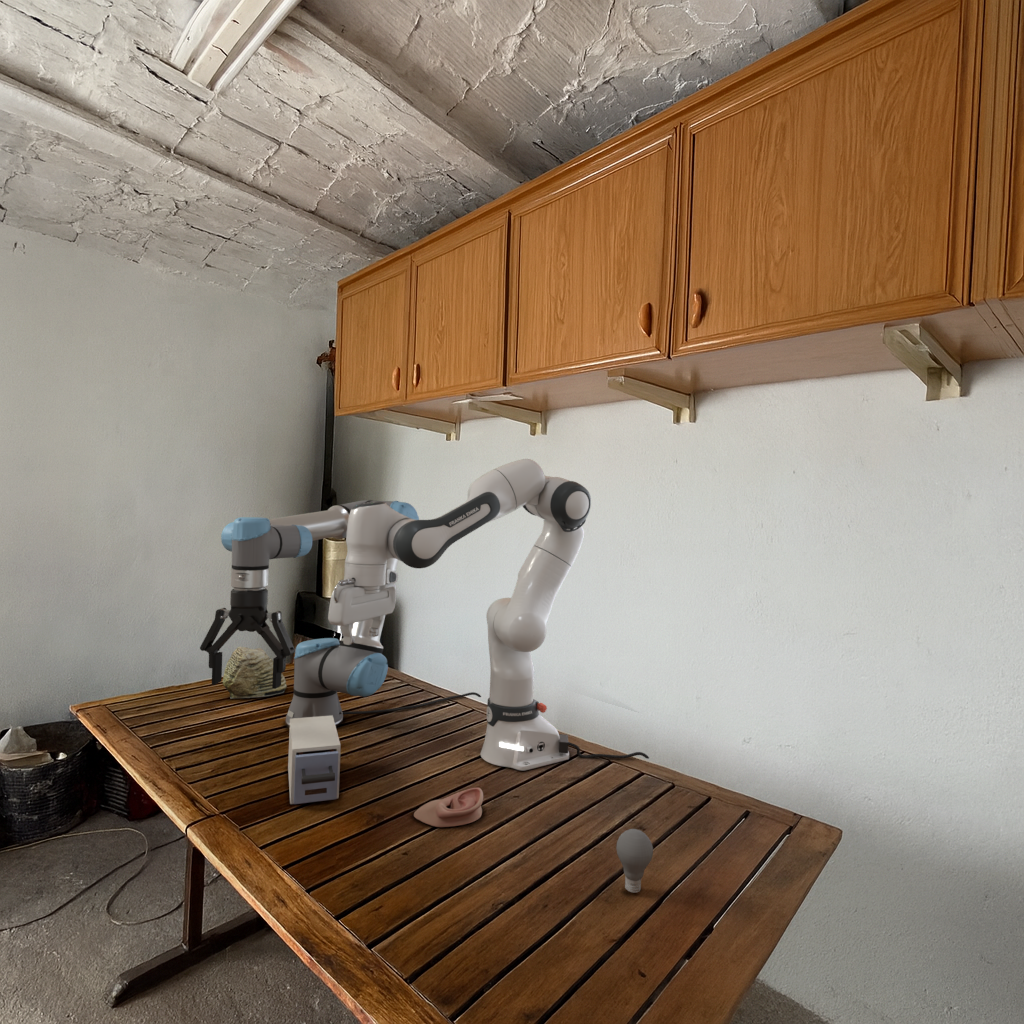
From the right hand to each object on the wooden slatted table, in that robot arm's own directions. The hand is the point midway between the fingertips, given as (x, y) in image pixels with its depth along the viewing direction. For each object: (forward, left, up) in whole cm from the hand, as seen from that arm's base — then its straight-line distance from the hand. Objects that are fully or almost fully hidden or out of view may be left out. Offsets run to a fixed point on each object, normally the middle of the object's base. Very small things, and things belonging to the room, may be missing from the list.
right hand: (361, 639), depth 137 cm
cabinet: (+8, -7, -33) cm, 35 cm away
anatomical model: (-16, +17, -33) cm, 40 cm away
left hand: (+22, -11, -11) cm, 28 cm away
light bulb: (-37, +51, -33) cm, 71 cm away
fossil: (+19, -74, -33) cm, 83 cm away
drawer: (+9, -2, -32) cm, 33 cm away
